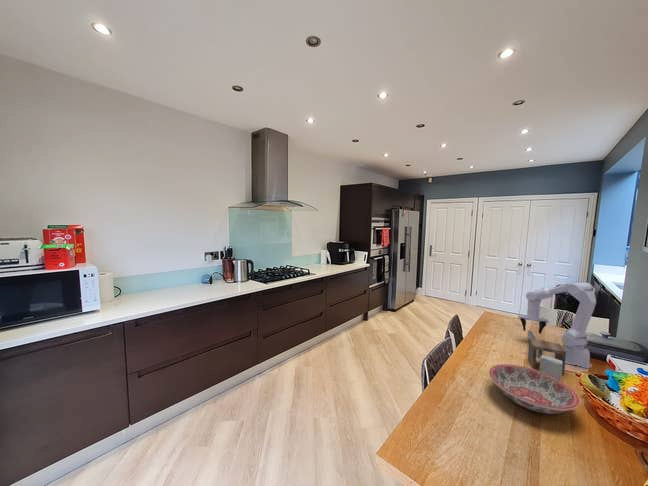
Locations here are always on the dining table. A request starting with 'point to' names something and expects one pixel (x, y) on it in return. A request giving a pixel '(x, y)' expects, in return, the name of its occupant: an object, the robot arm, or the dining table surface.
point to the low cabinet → (545, 346)
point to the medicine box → (551, 367)
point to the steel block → (530, 335)
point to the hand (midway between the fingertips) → (531, 331)
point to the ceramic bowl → (534, 389)
